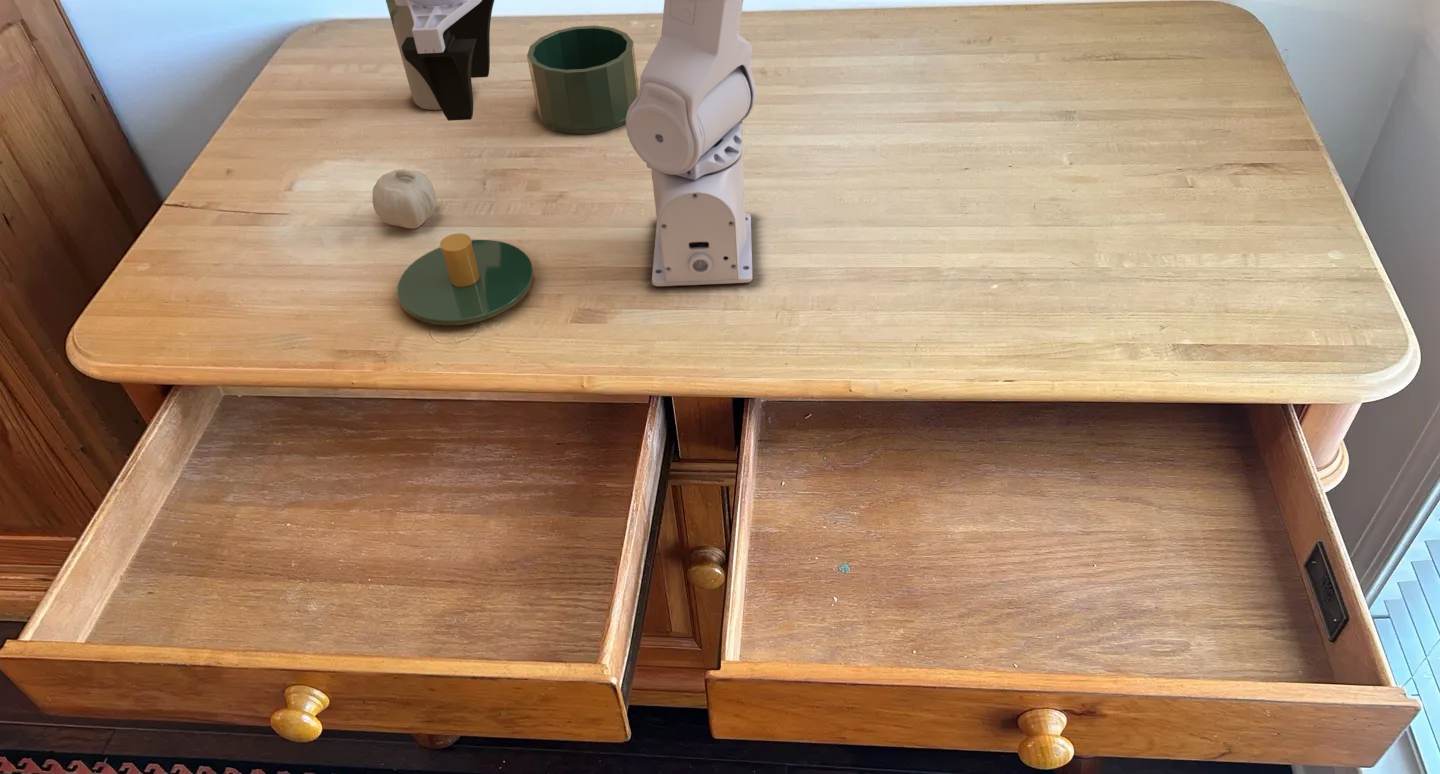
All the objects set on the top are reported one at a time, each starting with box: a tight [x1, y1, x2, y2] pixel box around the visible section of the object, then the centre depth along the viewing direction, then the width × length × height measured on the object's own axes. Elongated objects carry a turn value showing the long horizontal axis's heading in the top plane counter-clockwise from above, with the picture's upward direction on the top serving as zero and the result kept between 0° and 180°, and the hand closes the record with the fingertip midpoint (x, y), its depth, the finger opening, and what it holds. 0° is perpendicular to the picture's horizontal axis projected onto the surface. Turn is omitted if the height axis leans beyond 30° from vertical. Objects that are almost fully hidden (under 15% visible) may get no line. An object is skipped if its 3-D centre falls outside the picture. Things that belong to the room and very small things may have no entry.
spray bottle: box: [385, 0, 442, 111], centre depth 103 cm, size 6×6×20 cm
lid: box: [396, 232, 535, 326], centre depth 84 cm, size 11×11×5 cm
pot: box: [526, 25, 640, 135], centre depth 104 cm, size 10×10×6 cm
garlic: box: [372, 168, 437, 230], centre depth 91 cm, size 6×5×5 cm
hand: (469, 96), depth 91 cm, fingers open, 7 cm apart
